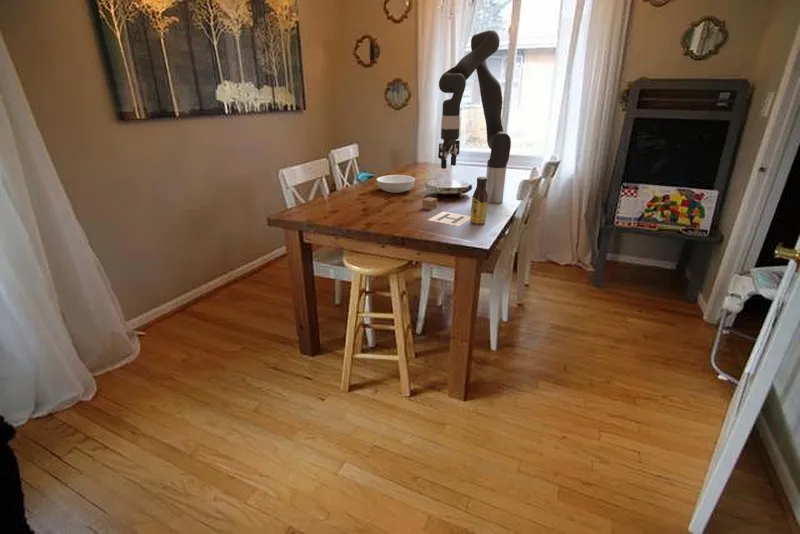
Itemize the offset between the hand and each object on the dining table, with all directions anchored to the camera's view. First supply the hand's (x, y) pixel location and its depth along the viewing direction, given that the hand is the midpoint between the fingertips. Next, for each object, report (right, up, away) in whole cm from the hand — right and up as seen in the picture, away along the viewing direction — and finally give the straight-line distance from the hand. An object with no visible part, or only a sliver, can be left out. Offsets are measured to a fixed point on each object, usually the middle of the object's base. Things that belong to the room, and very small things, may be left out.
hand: (448, 167), depth 171 cm
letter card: (+1, -22, +2) cm, 23 cm away
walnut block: (-7, -16, +17) cm, 24 cm away
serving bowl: (-23, -1, +49) cm, 54 cm away
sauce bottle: (+12, -25, -4) cm, 28 cm away
